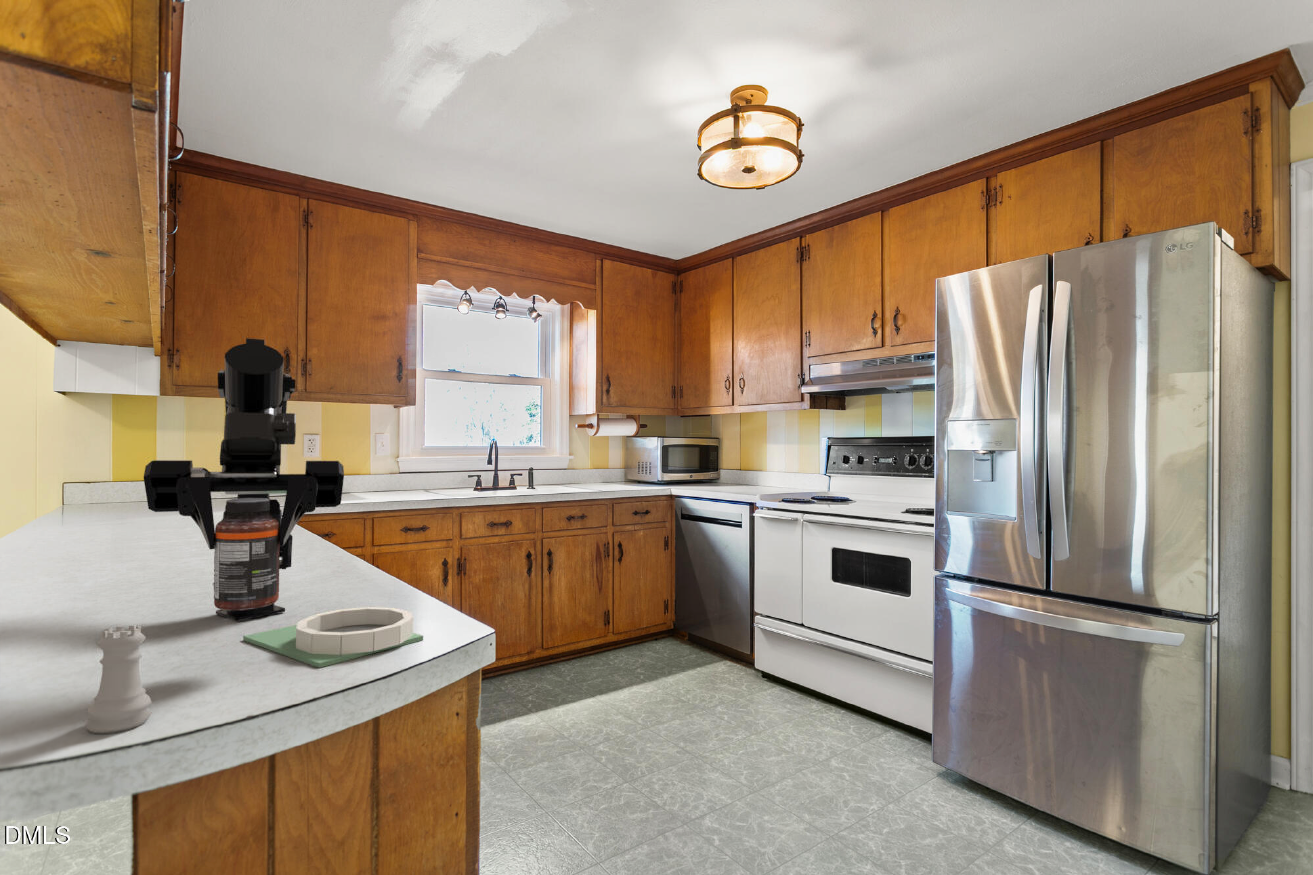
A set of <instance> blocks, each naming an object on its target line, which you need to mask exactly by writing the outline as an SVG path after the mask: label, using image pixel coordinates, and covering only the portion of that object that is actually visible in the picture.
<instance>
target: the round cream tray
mask: <svg viewBox="0 0 1313 875" xmlns="http://www.w3.org/2000/svg"><path fill="white" fill-rule="evenodd" d="M413 619H414V617H413V614H412V613H411V611H408V610H404V609H401V608H397V607H379V606H378V607H374V606H372V607H371V606H369V607H368V606H365V607H354V608H341V609H337V610H331V611H327V612H320V613H318V614H313V615H310V616H309V617H306V618H304V619H301V620H298V621H297V622H296V625H297V627H296V649H299V650H302V651H305V652H308V653H312V654H331V655H340V654H341V655H344V654H353V653H362V652H371V651H376V650H380V649H384V648H387V647H391V646H395V645H399V644H401V643H403V642H404V641H406V640H407V639H409V638H410V637H412V633H414V632H413V627H414V626H413V625H414V624H413V623H414V622H413V621H414V620H413Z"/></svg>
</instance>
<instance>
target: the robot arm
mask: <svg viewBox="0 0 1313 875" xmlns="http://www.w3.org/2000/svg"><path fill="white" fill-rule="evenodd" d="M284 361H285V358H284V356H283V355H282V354H281V353H280V352H279V351H278V350H277V349H275V348H274V347H271V346H269V345H267V344H266V340H265V339H261V338H260V339H259V338H245V343H241V344H238V345H234V346H232V347H231V348H230V349H228V350H227V351H226V352H224V369H220V370H218V371H217V391H218V395H219V398H220V399H222V398H223V399H224V403H225V404H224V405H225V406H224V407H225V415H224V426H223V428H224V429H223V439H222V441H221V443H220V449H219V450H220V452H219V465H220V466H221V471H209V470H208V469H207V468H204V467H193V460H188V459H187V460H184V459H181V460H177V459H175V460H174V459H173V460H172V459H171V460H169V459H167V460H165V459H163V460H161V459H160V460H159V459H158V460H157V459H155V460H151V461H150V462H148V463H147V464H146V465H145V466H144V473H143V482H144V490H145V494H146V501H147V507H148V510H149V511H152V512H155V513H168V512H169V513H170V512H171V513H172V512H178V514H179V515H180V516H182V517H191V519H192V520H193V521H194V522H195V524H196V525H197V527H199V529H200V532H201V533H202V535H203V536H202V537H203V538H204V540H205V542H206V544H207V547H208V549H209V550H215V549H214V547H215V528H216V527H215V520H214V519H215V518H214V513H213V511H214V509H213V502H212V493H221V492H222V493H224V494H225V495H237V498H236V499H239V498H267V499H269V500H270V510H269V513H270V515H271V516H272V518H274V519H276V520H277V521H278V522H279V526H280V549H279V550H280V551H279V558H281V559H279V570H287V568H291V567H292V555H293V553H292V552H293V551H292V550H293V538H294V537H293V535H292V532H293V530H294V528H295V526H296V525H297V524H298V522H299V521H300V520H301V519H302V518H303V516H304V515H305V514H307V513H313V512H314V511H315V510H316V508H336V507H337V506H340V505H342V496H343V488H344V479H345V473H344V472H345V470H344V465H343V464H342V463H341V462H340V461H339V460H305V469H304V470H305V472H304V473H288V474H287V473H281V464H282V445H295V444H296V433H297V432H296V430H297V428H296V425H297V423H296V422H297V421H296V420H297V419H296V418H297V416H296V415H297V414H296V413H291V412H290V413H289V412H288V413H287V407H288V406H287V405H288V401H289V400H290V399H291V395H292V394H293V393H295V391H296V379H294V378H292V376H291V375H290V373H284ZM271 494H272V495H276V494H277V495H278V494H280V495H281V494H285V500H284V505H283V510H282V509H281V504H280V502H279V501H278V499H275V498H274V499H271V498H270V495H271ZM226 514H227V512H226V505H225V507H224V512H223V515H222V519H223V518H224V517H225V515H226ZM285 612H286V607H282V606H279V605H275V603H273V604H271V605H269V606H266V607H263V608H257V609H251V610H243V611H226V610H221V609H217V610H215V615H217V616H220V617H224V618H226V619H230V620H233V621H243V620H248V619H254V618H258V617H259V618H260V617H265V616H269V615H274V614H280V613H281V614H282V613H285Z"/></svg>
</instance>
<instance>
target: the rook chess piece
mask: <svg viewBox="0 0 1313 875" xmlns="http://www.w3.org/2000/svg"><path fill="white" fill-rule="evenodd" d="M124 628H125V627H124V625H121V626H120V625H119V626H116V628H115V629H116V630H115V632H114V631H113V630H114V629H113V628H112V627H110V628H106V629H104V630H103V631H102V637H101V638H99V640H98V641H97V643H96V645H97V647H98V648H99V649H100V650H101V652H103V656H102V658H101V659H100V660H99V663H100V665H102V670H101V671H102V672H101V673H102V674H101V678H100V682H99V683H100V685H99V689H98V690H97V694H96V696H95V697H94V698H93V703H92V704H91V705H90V706H89V707H88V708H87V711H86V717H88V718H89V720H88V721H86V723H85V724H84V726H85V728H86V730H88V731H89V732H90V733H92V734H96V735H97V734H100V735H101V734H102V735H106V734H107V735H108V734H115V733H120V732H125V731H128V730H132V729H134V728H135V729H136V728H138V727H139V726H142V725H143V724H145V723H146V722H147V721H148V720H149V719H150V718H151V716H152V714H153V711H152V709H150V706H151V704H153V703H152V699H151V697H150V695H148V694H147V693H146V692H147V690H146V688H144V687H143V684H142V680H141V674H140V659H142V657H143V655H142V654H141V653H140V646H142V644H143V642H144V641H145V640H146V639H147V638H146V636H145V635H144V634H143V633H142V632H141V630H142V627H141V626H140V625H138V626H137V625H135V624H134V625H133V624H132V625H131V624H130V625H129V626H128V630H124Z"/></svg>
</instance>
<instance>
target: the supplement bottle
mask: <svg viewBox="0 0 1313 875" xmlns="http://www.w3.org/2000/svg"><path fill="white" fill-rule="evenodd" d="M225 506H226V512H227V514H226V515H225V517H224V518H223V517H222V519H221V520H220V521H219V522H217V523H216V525H215V527H214V528H215V547H214V549H213V550H214V552H213V553H214V555H213V556H214V557H213V559H214V560H213V562H214V563H213V564H214V566H213V572H214V574H213V575H214V577H213V580H214V581H213V583H212V586H213V600H214V601H213V604H214V606H215V608H216V609H217V610H226V611H243V610H251V609H257V608H263V607H266V606H269V605H271V604H273V603H274V604H275V603H276V602H277V601H278V600H279V598H280V595H279V592H280V569H279V560H280V557H279V551H280V550H279V549H280V526H279V522H278V521H277V520H276V519H274V518H272V516H271V515H270V513H269V510H270V500H269V499H267V498H239V499H237V498H231V499H227V500H226V504H225Z"/></svg>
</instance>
